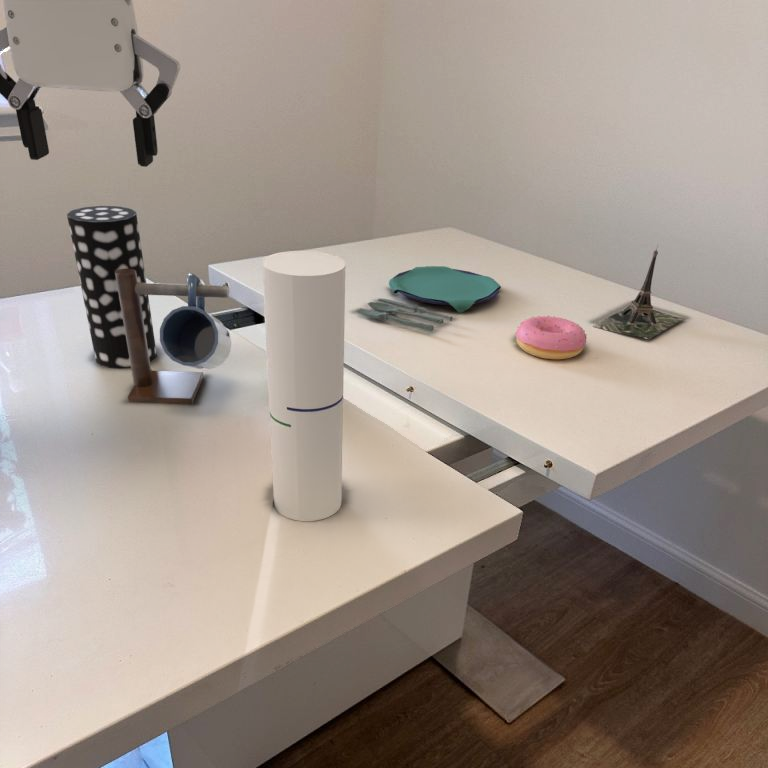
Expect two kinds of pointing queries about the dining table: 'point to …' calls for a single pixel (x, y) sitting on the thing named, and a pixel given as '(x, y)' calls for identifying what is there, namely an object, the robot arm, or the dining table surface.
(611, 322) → the eiffel tower figurine
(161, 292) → the mug stand
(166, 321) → the mug
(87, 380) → the dining table surface
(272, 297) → the cylindrical container
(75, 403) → the dining table surface
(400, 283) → the cutlery set
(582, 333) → the doughnut
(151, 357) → the white-spotted black cylinder
